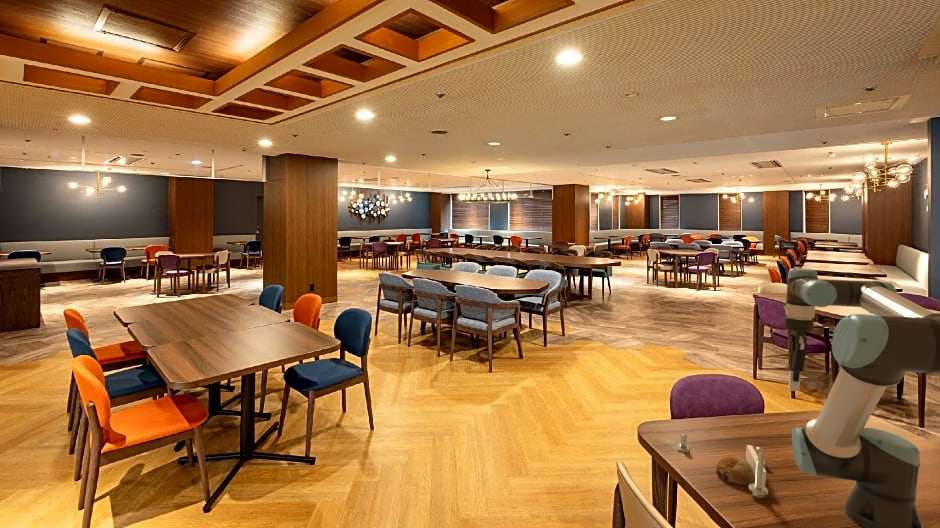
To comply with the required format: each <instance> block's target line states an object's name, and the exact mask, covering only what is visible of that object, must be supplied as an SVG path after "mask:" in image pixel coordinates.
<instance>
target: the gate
mask: <svg viewBox="0 0 940 528" xmlns="http://www.w3.org/2000/svg"><path fill="white" fill-rule="evenodd" d="M745 460H746V461H747V462H748V463H749V464H750V465H751V467H752V470H753V477H754V479H755V478H756V477H755V476H756V475H755V474H756V473H755V472H756V468H757V467H756V466H757V465H756V464H757V463H756V462H757V460H758V456H757V454H756V452H755V448H754V446H753V445H751V444H746V451H745ZM763 469H764V470H763V478H762V479H763V480H762V481H763V482H762V483H763V484H762V486H764V487H766V479H767V470H766V468H765V467H764V468H763Z"/></svg>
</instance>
